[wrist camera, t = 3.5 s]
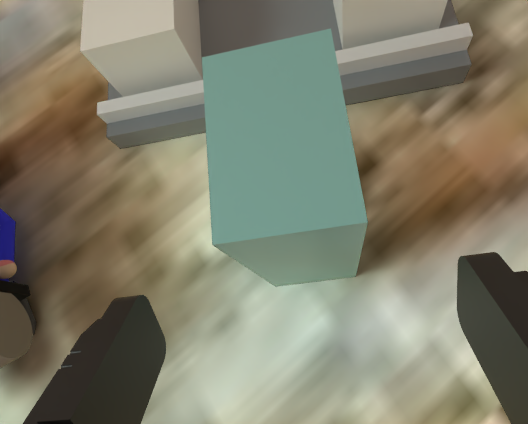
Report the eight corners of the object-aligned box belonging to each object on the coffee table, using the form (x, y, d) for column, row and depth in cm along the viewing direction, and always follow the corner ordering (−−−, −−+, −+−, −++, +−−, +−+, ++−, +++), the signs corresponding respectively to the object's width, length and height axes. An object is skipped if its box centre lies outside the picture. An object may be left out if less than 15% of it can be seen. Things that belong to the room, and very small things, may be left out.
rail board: (120, 148, 24) (96, 128, 21) (123, 9, 27) (102, -21, 25) (462, 82, 21) (478, 50, 18) (417, -65, 24) (425, -108, 22)
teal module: (275, 286, 19) (212, 244, 10) (263, 175, 21) (201, 53, 12) (355, 276, 19) (367, 222, 9) (336, 163, 21) (330, 24, 11)
